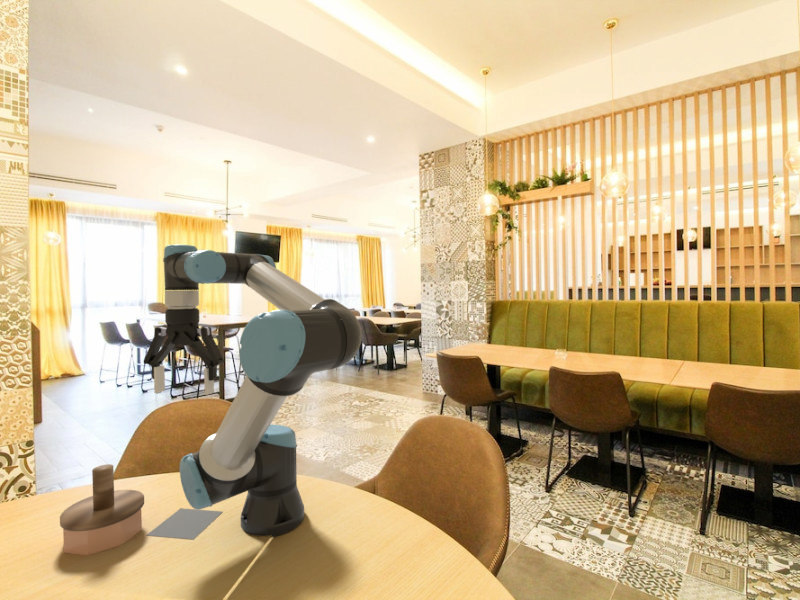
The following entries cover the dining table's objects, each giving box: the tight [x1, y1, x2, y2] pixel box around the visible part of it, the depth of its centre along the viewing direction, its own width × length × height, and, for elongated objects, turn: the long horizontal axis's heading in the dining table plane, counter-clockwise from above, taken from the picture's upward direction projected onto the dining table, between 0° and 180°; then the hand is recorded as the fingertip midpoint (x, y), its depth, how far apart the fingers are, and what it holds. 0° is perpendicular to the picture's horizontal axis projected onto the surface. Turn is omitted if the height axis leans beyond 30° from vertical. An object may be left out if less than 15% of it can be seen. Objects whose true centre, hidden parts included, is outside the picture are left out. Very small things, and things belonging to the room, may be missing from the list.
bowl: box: [62, 508, 143, 556], centre depth 97 cm, size 14×14×6 cm
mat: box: [146, 507, 224, 540], centre depth 102 cm, size 12×12×1 cm
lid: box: [59, 463, 145, 531], centre depth 97 cm, size 16×16×10 cm
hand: (184, 392), depth 104 cm, fingers open, 13 cm apart
